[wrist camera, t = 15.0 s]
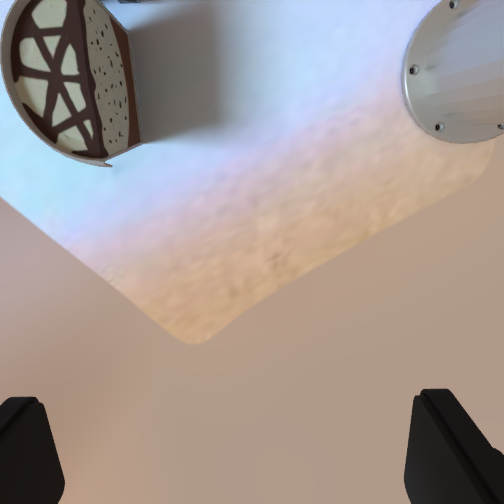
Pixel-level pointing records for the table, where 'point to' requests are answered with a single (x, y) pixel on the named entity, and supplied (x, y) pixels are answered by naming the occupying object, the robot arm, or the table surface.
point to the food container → (72, 77)
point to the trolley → (129, 1)
